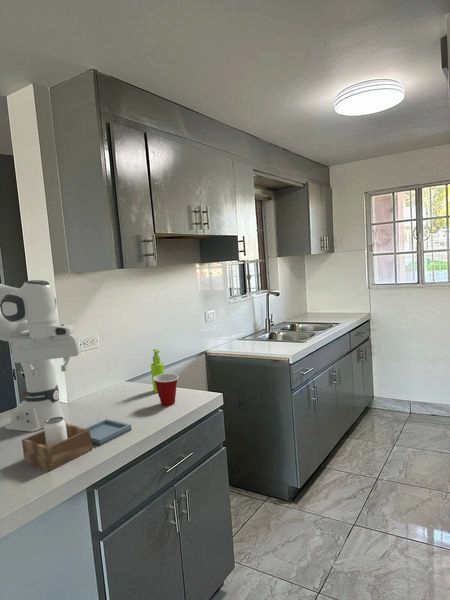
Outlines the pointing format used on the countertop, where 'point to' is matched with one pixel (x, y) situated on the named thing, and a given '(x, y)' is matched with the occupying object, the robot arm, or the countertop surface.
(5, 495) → the countertop surface
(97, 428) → the tray
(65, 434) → the can
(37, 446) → the walnut sleeve
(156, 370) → the soap dispenser
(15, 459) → the countertop surface
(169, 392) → the plastic cup
